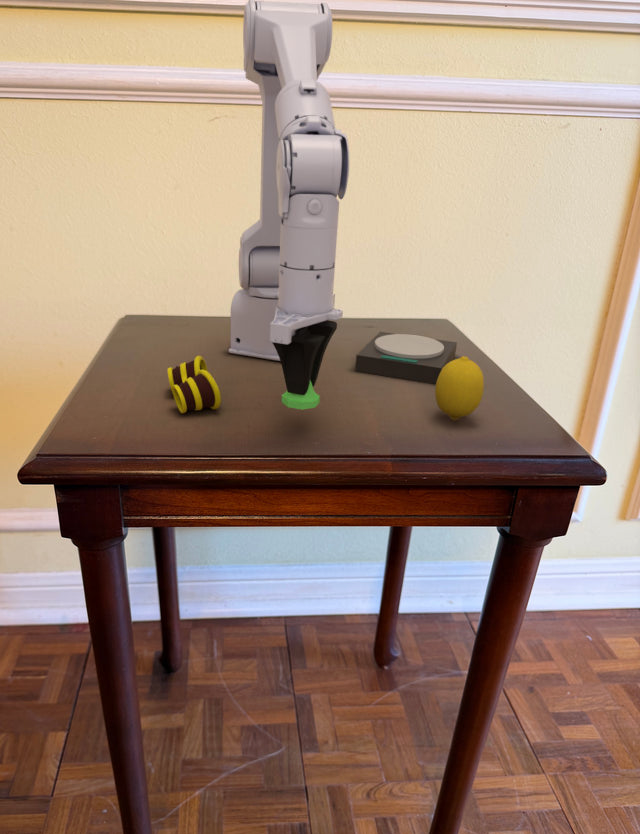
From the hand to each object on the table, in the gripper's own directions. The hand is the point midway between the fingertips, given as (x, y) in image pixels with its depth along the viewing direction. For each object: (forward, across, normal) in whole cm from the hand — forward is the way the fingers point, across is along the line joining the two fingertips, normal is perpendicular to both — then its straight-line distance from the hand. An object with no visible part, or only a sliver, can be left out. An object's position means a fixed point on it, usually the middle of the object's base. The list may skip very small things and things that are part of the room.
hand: (301, 389), depth 77 cm
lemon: (+5, +11, -16) cm, 20 cm away
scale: (+5, +28, -6) cm, 29 cm away
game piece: (+2, 0, 0) cm, 2 cm away
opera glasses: (+5, +2, +15) cm, 16 cm away
